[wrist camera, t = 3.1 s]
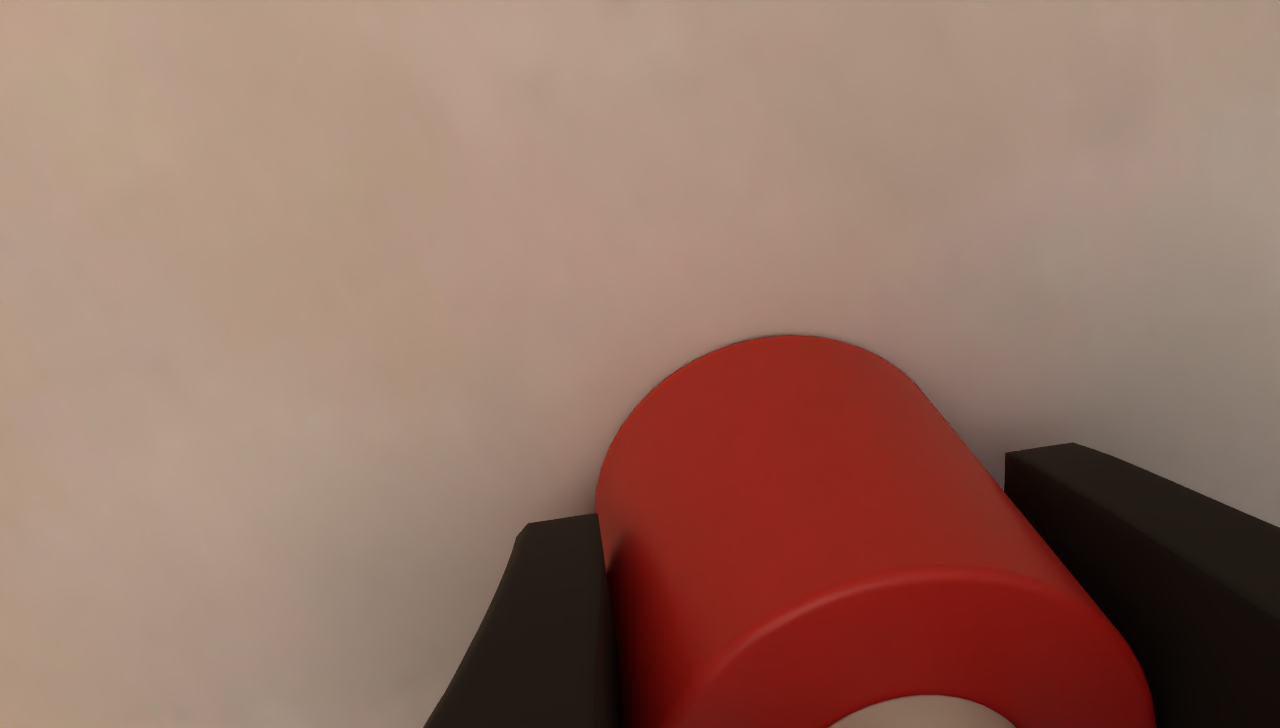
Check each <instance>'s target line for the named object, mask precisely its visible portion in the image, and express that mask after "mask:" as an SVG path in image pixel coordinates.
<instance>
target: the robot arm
mask: <svg viewBox="0 0 1280 728" xmlns="http://www.w3.org/2000/svg"><path fill="white" fill-rule="evenodd" d="M1004 492H1005V493H1006V495H1007V496H1008V497H1009V498H1010V499H1011V501H1012V502H1013V503H1014V504H1015V506H1016V507H1017V508H1018V509H1019V510H1020V512H1021V513H1022V514H1023V515H1024V517H1025V518H1026V519H1027V520H1028V521H1029V523H1030V524H1031V525H1032V526H1033V528H1034V529H1035V530H1036V531H1037V532H1038V534H1039V535H1040V536H1041V537H1042V539H1043V540H1044V541H1045V542H1046V543H1047V545H1048V546H1049V547H1050V548H1051V550H1052V551H1053V552H1054V553H1055V554H1056V556H1057V557H1058V558H1059V559H1060V561H1061V562H1062V563H1063V564H1064V565H1065V567H1066V568H1067V569H1068V570H1069V572H1070V573H1071V574H1072V575H1073V576H1074V578H1075V579H1076V580H1077V581H1078V582H1079V584H1080V585H1081V586H1082V587H1083V589H1084V590H1085V591H1086V592H1087V593H1088V595H1089V596H1090V597H1091V598H1092V600H1093V601H1094V602H1095V603H1096V604H1097V606H1098V607H1099V608H1100V609H1101V611H1102V612H1103V613H1104V614H1105V615H1106V617H1107V618H1108V619H1109V620H1110V622H1111V623H1112V624H1113V625H1114V626H1115V628H1116V629H1117V630H1118V631H1119V633H1120V634H1121V635H1122V636H1123V638H1124V639H1125V640H1126V641H1127V642H1128V644H1129V645H1130V646H1131V648H1132V650H1133V652H1134V654H1135V655H1136V657H1137V659H1138V661H1139V663H1140V664H1141V666H1142V668H1143V670H1144V673H1145V676H1146V679H1147V682H1148V685H1149V688H1150V691H1151V694H1152V700H1153V706H1154V713H1155V720H1156V727H1157V728H1280V528H1279V527H1277V526H1274V525H1272V524H1270V523H1267V522H1265V521H1263V520H1260V519H1258V518H1256V517H1253V516H1251V515H1249V514H1246V513H1244V512H1242V511H1239V510H1237V509H1235V508H1232V507H1230V506H1228V505H1225V504H1223V503H1221V502H1219V501H1216V500H1214V499H1212V498H1209V497H1207V496H1205V495H1202V494H1200V493H1198V492H1196V491H1193V490H1191V489H1189V488H1186V487H1184V486H1182V485H1179V484H1177V483H1175V482H1173V481H1170V480H1168V479H1166V478H1163V477H1161V476H1159V475H1156V474H1154V473H1152V472H1149V471H1147V470H1144V469H1142V468H1140V467H1137V466H1135V465H1133V464H1130V463H1128V462H1125V461H1123V460H1120V459H1118V458H1115V457H1113V456H1110V455H1108V454H1105V453H1102V452H1100V451H1097V450H1094V449H1091V448H1088V447H1085V446H1082V445H1079V444H1076V443H1067V444H1060V445H1053V446H1047V447H1040V448H1033V449H1026V450H1020V451H1013V452H1006V453H1005V483H1004ZM423 728H622V718H621V706H620V695H619V679H618V659H617V645H616V638H615V630H614V623H613V616H612V609H611V602H610V595H609V588H608V580H607V573H606V566H605V559H604V552H603V545H602V538H601V531H600V524H599V517H598V513H594V514H587V515H581V516H574V517H567V518H560V519H554V520H547V521H540V522H533V523H528V524H527V525H526V526H525V527H524V528H523V530H522V531H521V532H520V533H519V534H518V536H517V537H516V540H515V544H514V547H513V550H512V553H511V556H510V558H509V561H508V564H507V567H506V569H505V572H504V574H503V577H502V579H501V581H500V584H499V586H498V588H497V591H496V593H495V595H494V597H493V599H492V602H491V604H490V606H489V608H488V610H487V613H486V615H485V617H484V619H483V621H482V623H481V625H480V627H479V629H478V631H477V633H476V634H475V636H474V638H473V640H472V642H471V644H470V646H469V648H468V650H467V652H466V654H465V656H464V658H463V660H462V662H461V664H460V666H459V667H458V669H457V671H456V673H455V675H454V677H453V679H452V680H451V682H450V684H449V686H448V688H447V689H446V691H445V693H444V694H443V696H442V698H441V699H440V701H439V703H438V704H437V706H436V707H435V709H434V711H433V712H432V714H431V716H430V717H429V719H428V721H427V722H426V724H425V726H424V727H423Z"/></svg>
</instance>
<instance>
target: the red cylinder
mask: <svg viewBox="0 0 1280 728" xmlns="http://www.w3.org/2000/svg"><path fill="white" fill-rule="evenodd" d="M594 513H598V517H599V524H600V531H601V538H602V545H603V552H604V559H605V566H606V573H607V580H608V588H609V595H610V602H611V609H612V616H613V623H614V630H615V638H616V645H617V659H618V679H619V695H620V706H621V718H622V728H1157V727H1156V720H1155V713H1154V706H1153V700H1152V694H1151V691H1150V688H1149V685H1148V682H1147V679H1146V676H1145V673H1144V670H1143V668H1142V666H1141V664H1140V663H1139V661H1138V659H1137V657H1136V655H1135V654H1134V652H1133V650H1132V648H1131V646H1130V645H1129V644H1128V642H1127V641H1126V640H1125V639H1124V638H1123V636H1122V635H1121V634H1120V633H1119V631H1118V630H1117V629H1116V628H1115V626H1114V625H1113V624H1112V623H1111V622H1110V620H1109V619H1108V618H1107V617H1106V615H1105V614H1104V613H1103V612H1102V611H1101V609H1100V608H1099V607H1098V606H1097V604H1096V603H1095V602H1094V601H1093V600H1092V598H1091V597H1090V596H1089V595H1088V593H1087V592H1086V591H1085V590H1084V589H1083V587H1082V586H1081V585H1080V584H1079V582H1078V581H1077V580H1076V579H1075V578H1074V576H1073V575H1072V574H1071V573H1070V572H1069V570H1068V569H1067V568H1066V567H1065V565H1064V564H1063V563H1062V562H1061V561H1060V559H1059V558H1058V557H1057V556H1056V554H1055V553H1054V552H1053V551H1052V550H1051V548H1050V547H1049V546H1048V545H1047V543H1046V542H1045V541H1044V540H1043V539H1042V537H1041V536H1040V535H1039V534H1038V532H1037V531H1036V530H1035V529H1034V528H1033V526H1032V525H1031V524H1030V523H1029V521H1028V520H1027V519H1026V518H1025V517H1024V515H1023V514H1022V513H1021V512H1020V510H1019V509H1018V508H1017V507H1016V506H1015V504H1014V503H1013V502H1012V501H1011V499H1010V498H1009V497H1008V496H1007V495H1006V493H1005V492H1004V491H1003V490H1002V489H1001V487H1000V486H999V485H998V484H997V482H996V481H995V480H994V479H993V478H992V476H991V475H990V474H989V473H988V471H987V470H986V469H985V468H984V467H983V465H982V464H981V463H980V462H979V460H978V459H977V458H976V457H975V456H974V454H973V453H972V452H971V451H970V449H969V448H968V447H967V446H966V445H965V443H964V442H963V441H962V440H961V438H960V437H959V436H958V435H957V434H956V432H955V431H954V430H953V429H952V427H951V426H950V425H949V424H948V423H947V421H946V420H945V419H944V418H943V417H942V415H941V414H940V413H939V412H938V410H937V409H936V408H935V407H934V406H933V404H932V403H931V402H930V401H929V399H928V398H927V397H926V396H925V395H924V393H923V392H922V391H921V390H920V388H919V387H918V386H917V385H916V384H915V383H914V382H913V381H912V380H911V379H910V378H909V377H907V376H906V375H905V374H904V373H903V372H902V371H901V370H899V369H898V368H896V367H895V366H893V365H892V364H890V363H889V362H887V361H886V360H884V359H883V358H881V357H879V356H877V355H875V354H873V353H871V352H869V351H867V350H865V349H862V348H860V347H857V346H854V345H850V344H847V343H844V342H841V341H837V340H831V339H826V338H820V337H812V336H778V337H765V338H759V339H754V340H749V341H744V342H740V343H737V344H734V345H730V346H727V347H724V348H721V349H718V350H716V351H713V352H711V353H709V354H707V355H705V356H703V357H701V358H698V359H696V360H694V361H692V362H691V363H689V364H688V365H686V366H684V367H683V368H681V369H680V370H678V371H676V372H675V373H673V374H672V375H670V376H669V377H668V378H667V379H665V380H664V381H663V382H662V383H661V384H659V385H658V386H657V387H656V388H654V389H653V390H652V391H651V392H650V393H649V394H648V395H647V396H646V397H645V398H644V399H643V400H642V401H641V402H640V403H639V404H638V406H637V407H636V408H635V409H634V410H633V411H632V413H631V414H630V415H629V417H628V418H627V420H626V421H625V422H624V424H623V425H622V426H621V428H620V429H619V431H618V433H617V435H616V437H615V438H614V440H613V442H612V444H611V446H610V447H609V450H608V452H607V455H606V458H605V460H604V463H603V465H602V468H601V472H600V476H599V480H598V484H597V489H596V498H595V510H594Z"/></svg>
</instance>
